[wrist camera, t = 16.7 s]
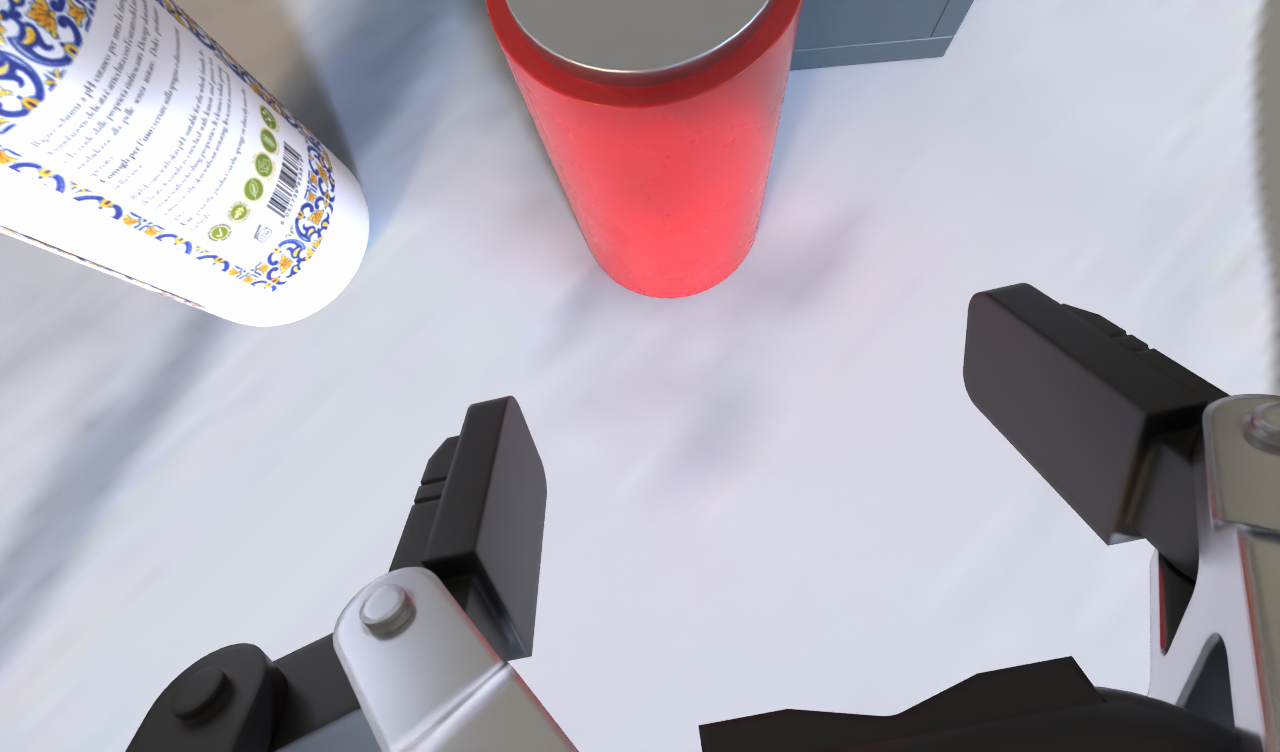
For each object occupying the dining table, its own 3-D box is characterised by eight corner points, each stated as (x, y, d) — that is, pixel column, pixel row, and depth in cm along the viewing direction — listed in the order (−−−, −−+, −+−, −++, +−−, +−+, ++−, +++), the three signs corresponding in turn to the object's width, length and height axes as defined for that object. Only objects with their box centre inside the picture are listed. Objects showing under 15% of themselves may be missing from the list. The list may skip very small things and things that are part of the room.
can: (584, 303, 20) (469, 106, 10) (584, 144, 22) (481, -171, 12) (763, 293, 20) (827, 75, 10) (753, 131, 21) (799, -212, 11)
